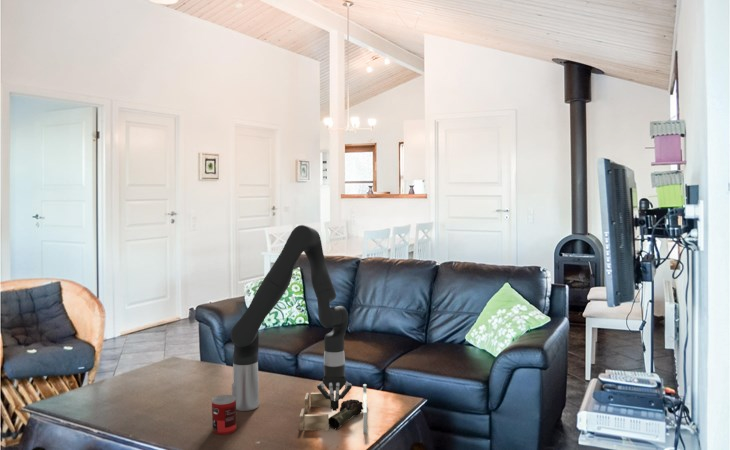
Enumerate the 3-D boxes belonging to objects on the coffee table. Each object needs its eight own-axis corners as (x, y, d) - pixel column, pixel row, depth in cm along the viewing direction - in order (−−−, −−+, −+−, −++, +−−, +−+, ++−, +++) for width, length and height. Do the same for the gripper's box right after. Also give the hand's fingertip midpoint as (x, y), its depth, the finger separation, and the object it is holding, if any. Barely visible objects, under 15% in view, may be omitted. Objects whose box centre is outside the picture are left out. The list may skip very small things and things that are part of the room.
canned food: (214, 426, 190) (214, 395, 190) (238, 425, 191) (237, 394, 190) (210, 435, 183) (209, 403, 182) (234, 434, 183) (234, 402, 183)
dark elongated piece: (339, 431, 185) (339, 415, 185) (323, 427, 189) (322, 411, 188) (365, 413, 201) (365, 397, 200) (350, 409, 204) (349, 395, 204)
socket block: (299, 430, 186) (299, 416, 185) (306, 405, 208) (306, 392, 208) (328, 430, 186) (328, 415, 186) (332, 405, 208) (331, 392, 208)
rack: (363, 433, 183) (363, 412, 183) (363, 402, 211) (363, 384, 211) (367, 433, 183) (366, 412, 183) (366, 402, 211) (366, 384, 211)
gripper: (314, 365, 192) (315, 414, 193) (352, 365, 192) (353, 413, 193) (316, 359, 200) (317, 406, 201) (352, 359, 200) (353, 405, 201)
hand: (334, 409), depth 197 cm, fingers closed
